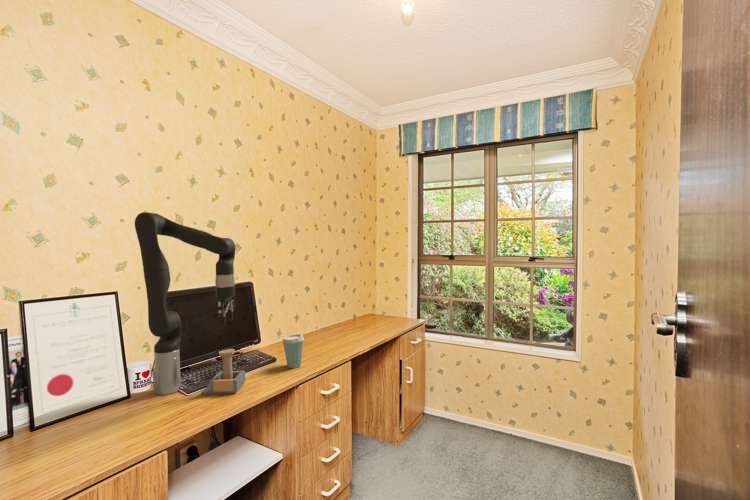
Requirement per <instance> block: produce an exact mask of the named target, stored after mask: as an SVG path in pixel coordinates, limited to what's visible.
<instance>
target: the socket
mask: <svg viewBox="0 0 750 500" xmlns="http://www.w3.org/2000/svg"><path fill="white" fill-rule="evenodd" d="M208 382H209V384H208V385H206V387H205V388H204V389H203V390H202V391H201V395H218V394H221V395H222V394H237V393H238V391H239V390H240V389H241V388H242V386H244V384H245V382H246V370H233V379H223V370H222V371H219V372H218V373H216V375H215V376H213V377H212V378H211V379H210V380H209V381H208Z"/></svg>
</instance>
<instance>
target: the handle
mask: <svg viewBox="0 0 750 500" xmlns="http://www.w3.org/2000/svg"><path fill="white" fill-rule="evenodd" d="M218 353H219V354H218V355H219V356H220V357H222V371H223V379H233V371H234V370H233V360H232V359H233V358H232V356H233V355H234V354H235V353H236V349H234V348H227V349H224V350H221V351H219V352H218Z"/></svg>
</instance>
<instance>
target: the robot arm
mask: <svg viewBox="0 0 750 500" xmlns="http://www.w3.org/2000/svg"><path fill="white" fill-rule="evenodd" d="M134 230H135V233H136V237H137V241H138V243H139V248H140V255H141V261H142V262H141V263H142V270H143V276H144V277H143V279H144V284H145V290H146V298H147V312H148V313H147V315H148V318H147V319H148V320H147V321H148V322H147V323H148V328H149V331H150V333H151V334H152V335H153V336H155V337H156V338H157V337H158V338H159V339H158V341H157V342H156V343H155V344H154V347H153V350H154V351H153V354H154V369H153V370H152V388H153V389H152V390H153V394H154V395H155V394H156V395H162V396H164V395H165V396H166V395H170V394H173V393H176V392H179V391H178V388H179V387H180V385H181V386H182V384H181V358H180V357H181V356H180V354H181V353H180V343H181V340H182V319H181V317H180V315H179V314H178V313H177V312H176V311H173V310H168V311H167V303H166V302H167V301H166V300H167V294H168V292H169V288H170V285H171V273H170V267H169V266H170V265H169V263H168V261H167V259H166V256H165V255H164V253H163V252H162V250H161V247H160V245H159V239H158V236H159V235H160V236H165V237H170V238H173V239H177V240H179V241H181V242H183V243H185V244H186V245H187V244H188V245H191V246H192V247H197V248H201V249H204V250H206V251H208V252H211V253H213V254H217V255H218V259H217V261H216V262H215V278H214V279H215V280H214V281H215V297H216V298H219V301H216V304H215V305H216V306H215V307H216V310H215V311H216V313H215V315H216V317H218V319H219V326H220V327H225V326H226V321H227V322H232V321H233V320H234V319H233V318H234V317H233V313H234V310H236V309H235V306H236V305H235V295H236V285H235V284H236V282H235V281H236V279H235V272H234V270H235V269H234V263H235V256H236V243H235V242H234V240H233V239H231V238H230V237H220V236H216V235H213V234H212V233H210V232H207V231H204V230H201V229H197V228H193V227H189V226H187V225H183V224H180V223H177V222H175V221H172V220H171V219H168V218H167V217H164V216H163V215H161V214H159V213H156V212H155V213H154V212H148V211H147V212H140V213H138V214H137V216H136V217H135V219H134Z"/></svg>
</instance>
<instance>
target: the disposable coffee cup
mask: <svg viewBox="0 0 750 500" xmlns="http://www.w3.org/2000/svg"><path fill="white" fill-rule="evenodd" d="M304 342H305V337H304V335H303V334H301V333H293V334H290V335H289V334H288V335H287V336H284V337H283V338H282V344H283V349H284V354H285V359H286V360H285V361H286V365H287V367H288V368H290V369H297V368H299V367H301V365H302V360H303V351H304Z"/></svg>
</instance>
